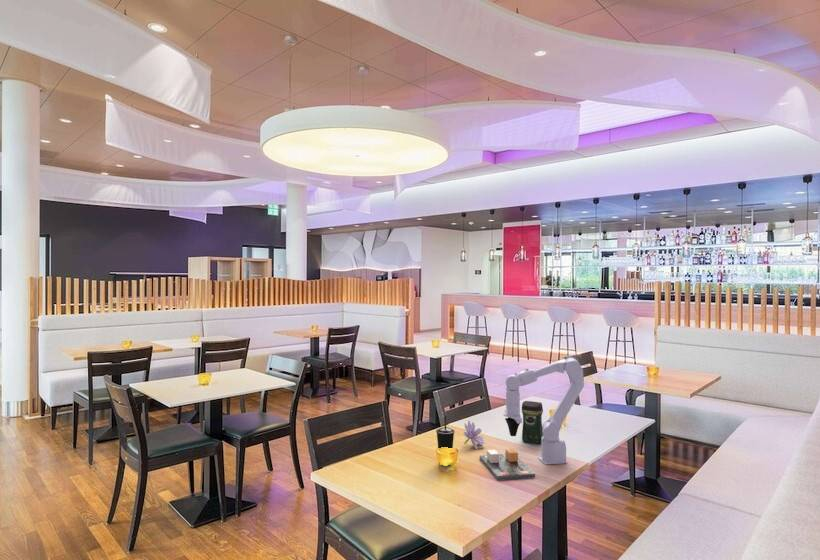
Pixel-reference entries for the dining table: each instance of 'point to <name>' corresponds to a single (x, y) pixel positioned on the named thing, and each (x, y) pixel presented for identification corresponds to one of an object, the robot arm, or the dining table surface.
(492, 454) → the switch
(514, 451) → the plain orange cube
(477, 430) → the water lily
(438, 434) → the drinking cup
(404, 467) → the dining table surface
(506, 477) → the breaker panel
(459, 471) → the dining table surface
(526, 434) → the coffee jar
